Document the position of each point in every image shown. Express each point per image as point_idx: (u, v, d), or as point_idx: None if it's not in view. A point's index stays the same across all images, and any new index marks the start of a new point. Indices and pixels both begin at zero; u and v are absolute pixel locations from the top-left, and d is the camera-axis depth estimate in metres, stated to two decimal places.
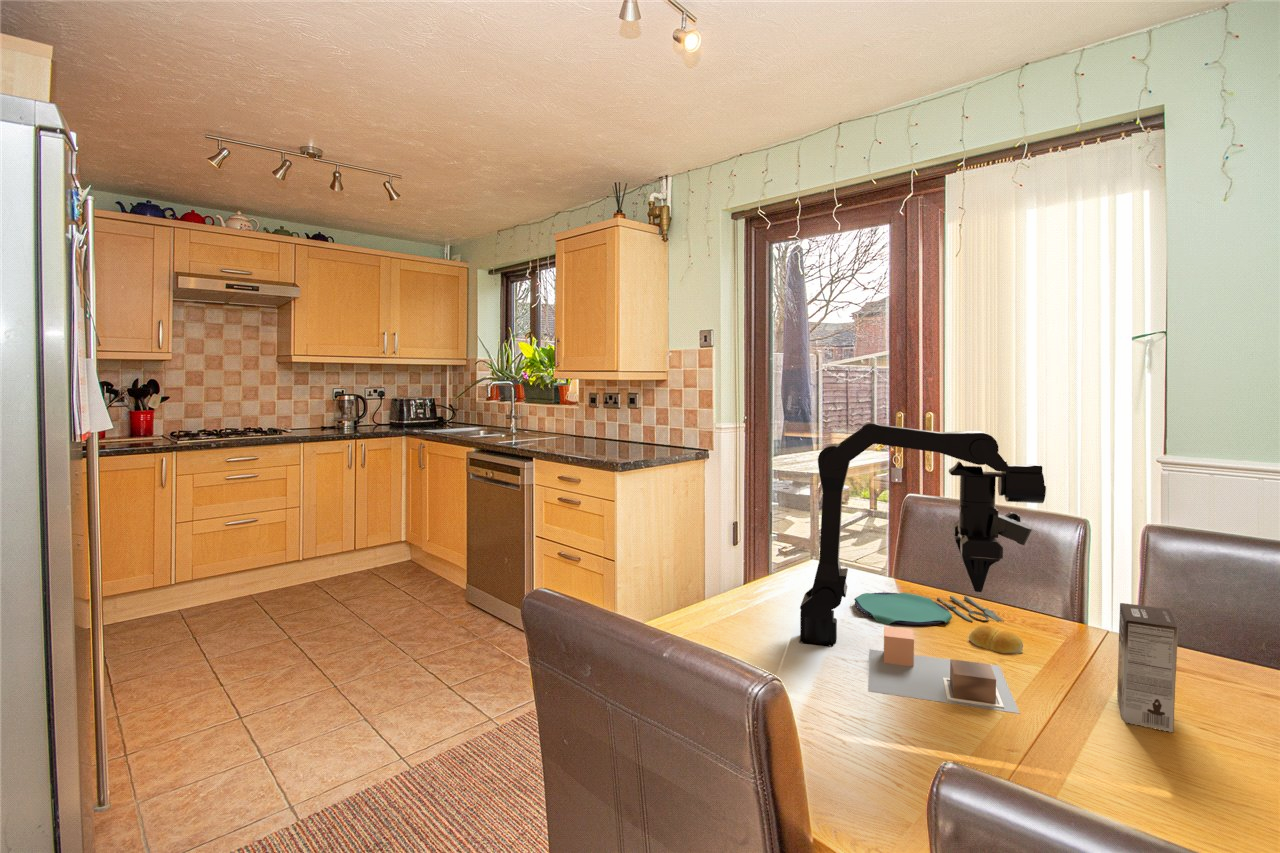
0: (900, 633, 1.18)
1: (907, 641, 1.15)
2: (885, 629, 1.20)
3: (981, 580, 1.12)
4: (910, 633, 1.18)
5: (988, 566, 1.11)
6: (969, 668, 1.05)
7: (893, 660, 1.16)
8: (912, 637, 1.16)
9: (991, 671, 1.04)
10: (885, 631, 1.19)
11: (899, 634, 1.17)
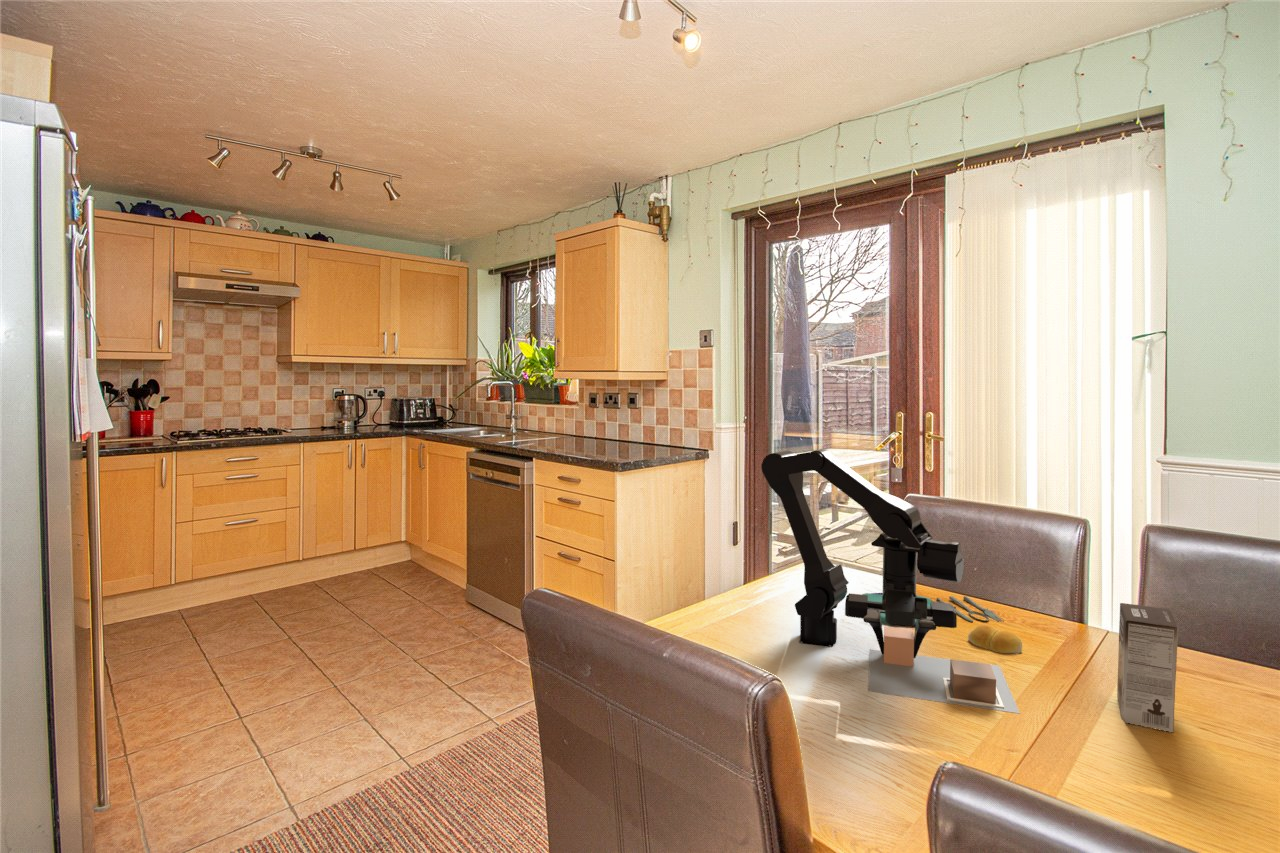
0: (900, 633, 1.18)
1: (907, 641, 1.15)
2: (885, 629, 1.20)
3: (878, 641, 1.19)
4: (910, 633, 1.18)
5: (872, 627, 1.18)
6: (969, 668, 1.05)
7: (893, 660, 1.16)
8: (912, 637, 1.16)
9: (991, 671, 1.04)
10: (885, 631, 1.19)
11: (899, 634, 1.17)
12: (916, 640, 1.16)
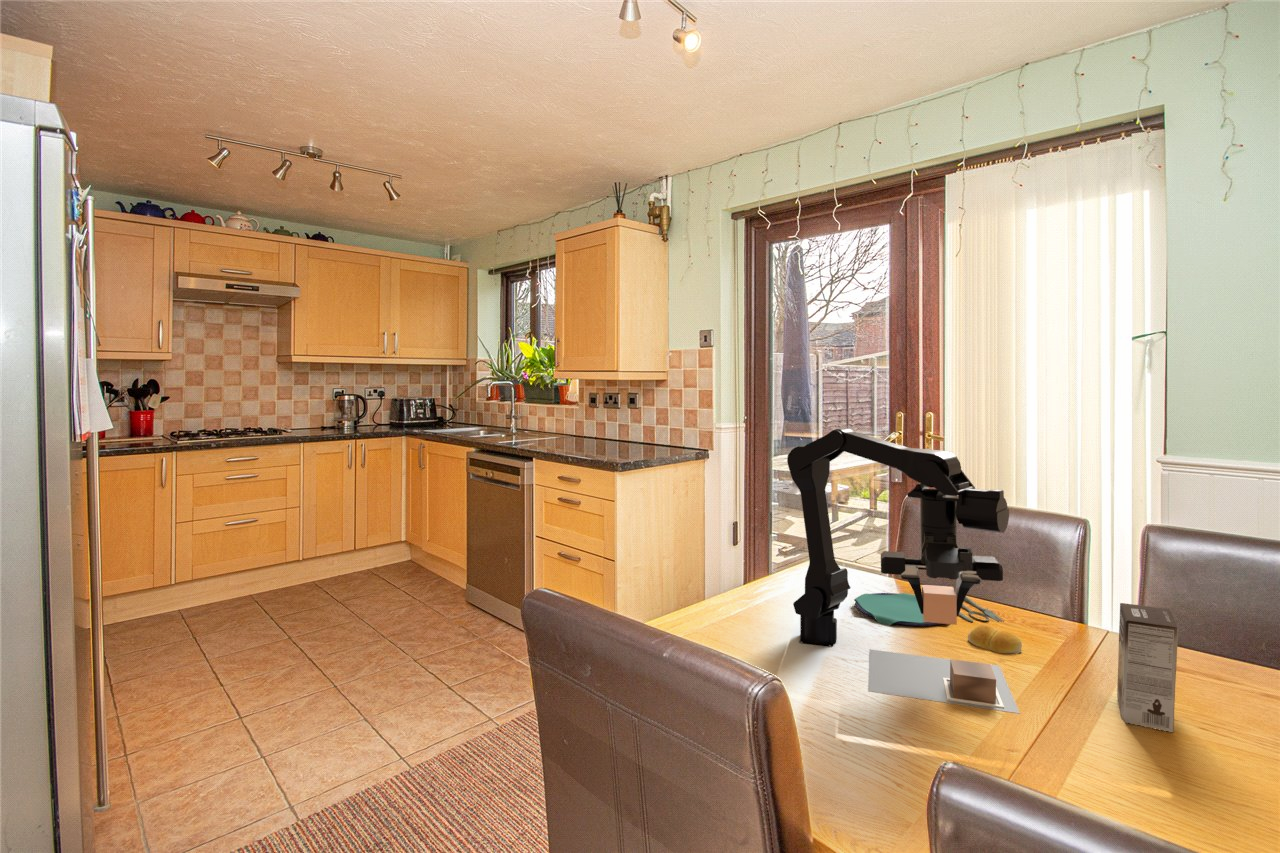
0: (940, 590, 1.10)
1: (949, 598, 1.08)
2: (923, 587, 1.12)
3: None
4: (951, 589, 1.10)
5: None
6: (969, 668, 1.05)
7: (934, 619, 1.09)
8: (954, 593, 1.08)
9: (991, 671, 1.04)
10: (924, 589, 1.11)
11: (939, 591, 1.09)
12: (958, 597, 1.08)
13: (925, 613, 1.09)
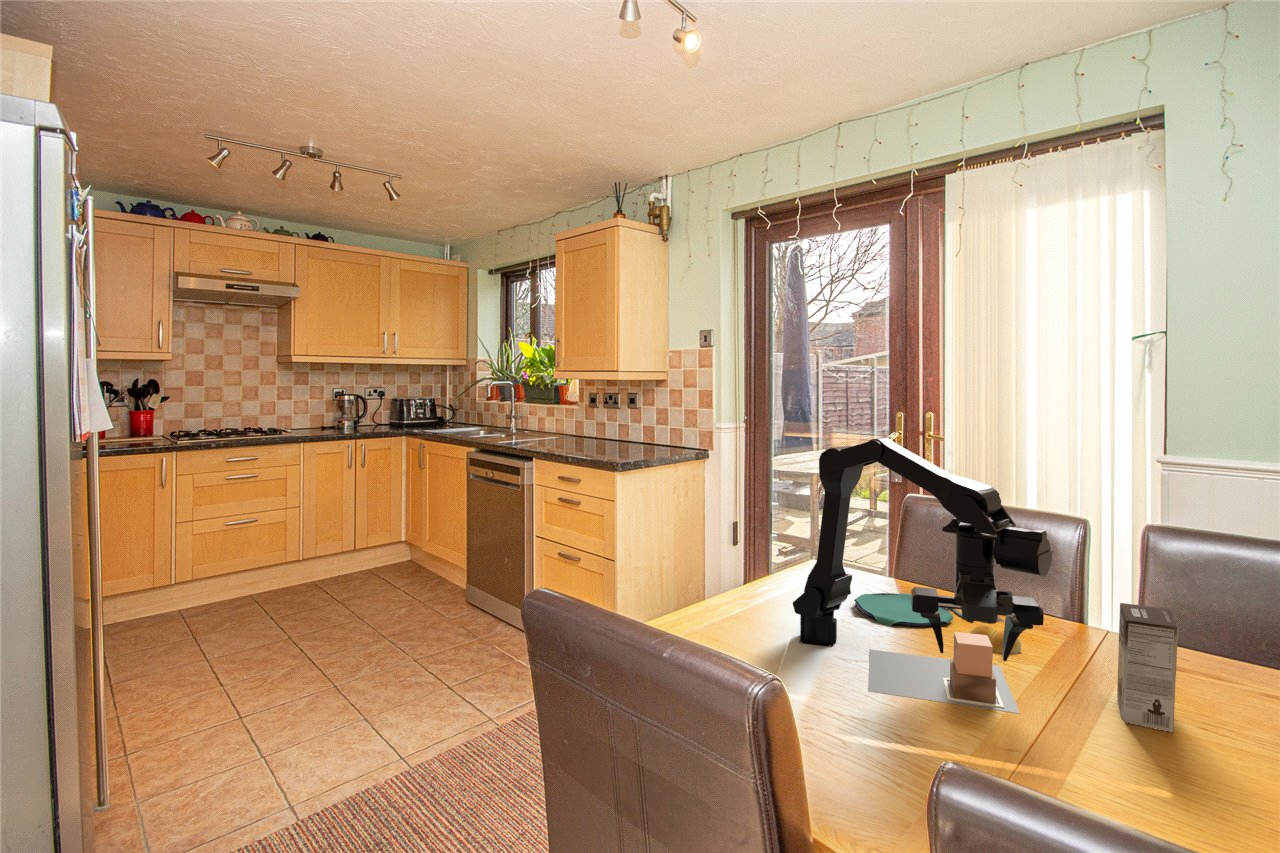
0: (974, 640, 1.04)
1: (984, 649, 1.02)
2: (956, 635, 1.06)
3: (936, 639, 1.06)
4: (985, 639, 1.05)
5: (930, 623, 1.06)
6: None
7: (968, 670, 1.03)
8: (990, 644, 1.02)
9: None
10: (957, 637, 1.05)
11: (974, 641, 1.04)
12: (1008, 641, 1.02)
13: (958, 664, 1.03)
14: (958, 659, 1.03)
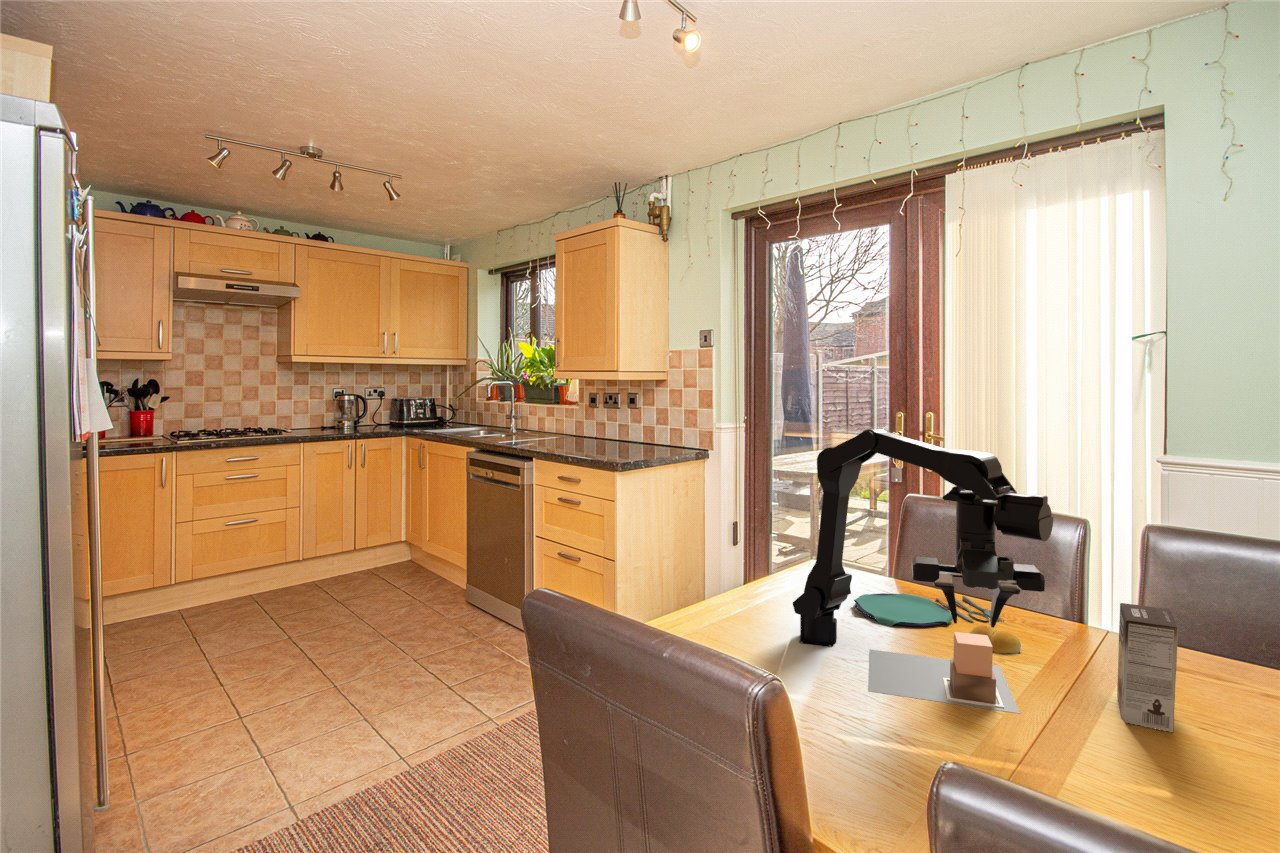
0: (974, 640, 1.04)
1: (984, 649, 1.02)
2: (956, 635, 1.06)
3: None
4: (985, 639, 1.05)
5: (944, 593, 1.05)
6: None
7: (968, 670, 1.03)
8: (990, 644, 1.02)
9: None
10: (957, 637, 1.05)
11: (974, 641, 1.04)
12: (996, 607, 1.02)
13: (958, 664, 1.03)
14: (958, 659, 1.03)
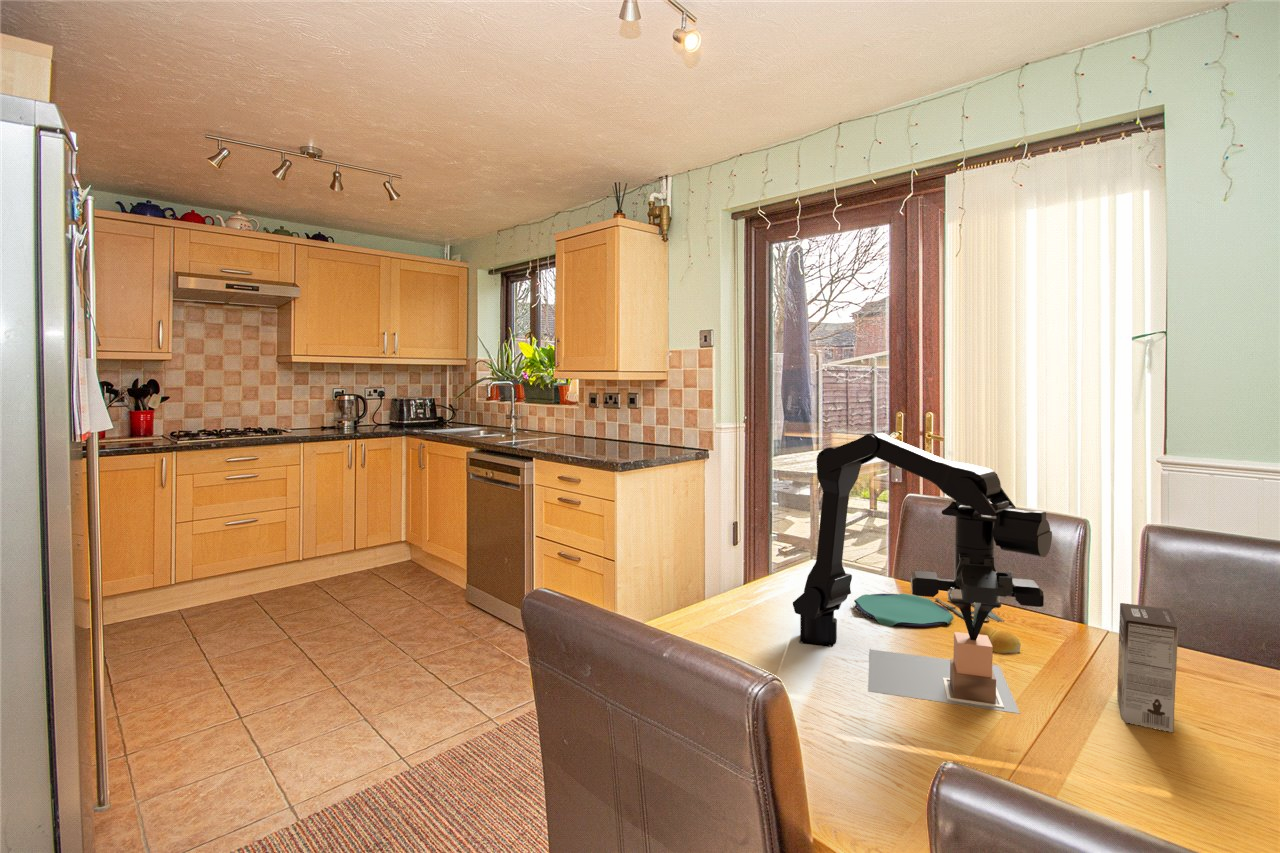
0: (974, 640, 1.04)
1: (984, 649, 1.02)
2: (956, 635, 1.06)
3: (966, 625, 1.05)
4: (985, 639, 1.05)
5: (960, 609, 1.04)
6: None
7: (968, 670, 1.03)
8: (990, 644, 1.02)
9: None
10: (957, 637, 1.05)
11: (974, 641, 1.04)
12: (977, 620, 1.03)
13: (958, 664, 1.03)
14: (958, 659, 1.03)
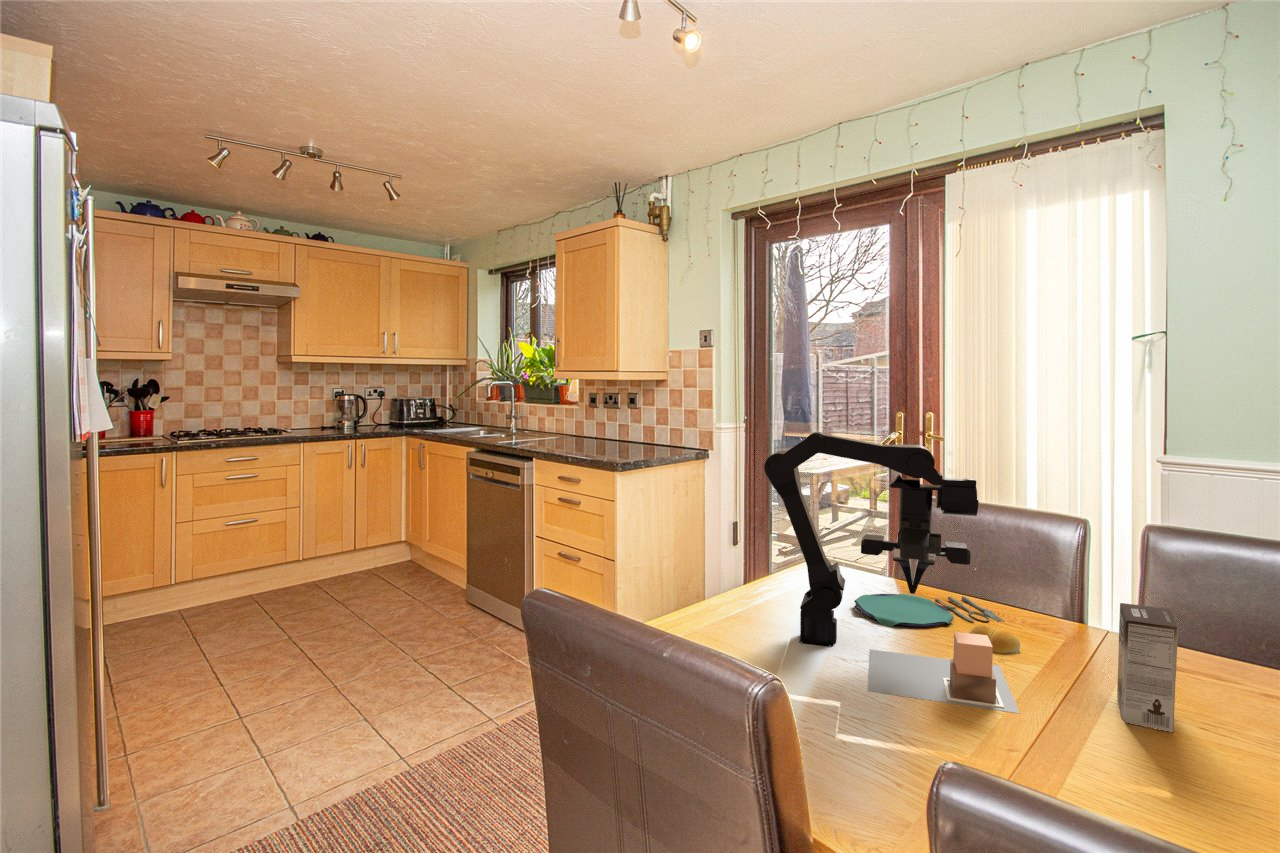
0: (974, 640, 1.04)
1: (984, 649, 1.02)
2: (956, 635, 1.06)
3: None
4: (985, 639, 1.05)
5: (901, 567, 1.21)
6: None
7: (968, 670, 1.03)
8: (990, 644, 1.02)
9: None
10: (957, 637, 1.05)
11: (974, 641, 1.04)
12: (916, 576, 1.20)
13: (958, 664, 1.03)
14: (958, 659, 1.03)
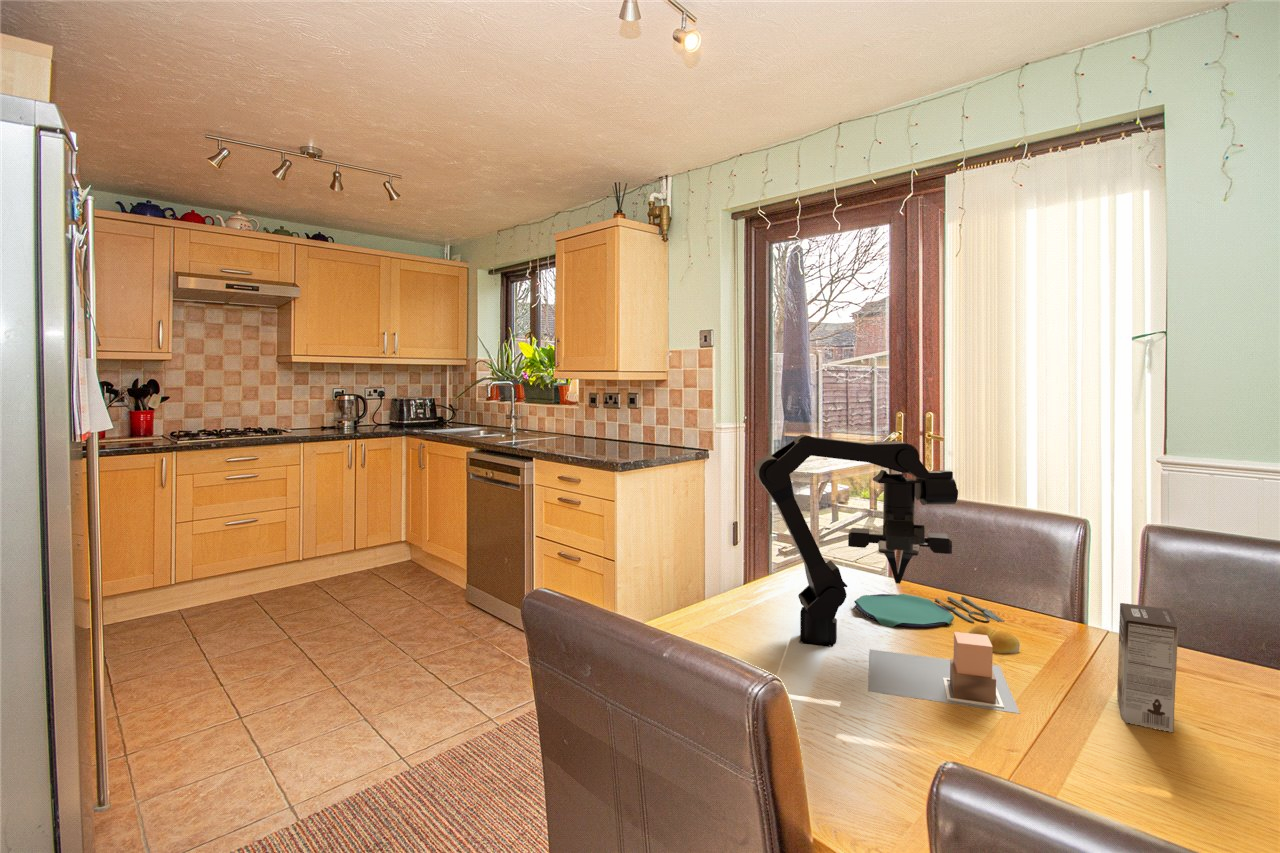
0: (974, 640, 1.04)
1: (984, 649, 1.02)
2: (956, 635, 1.06)
3: (892, 571, 1.27)
4: (985, 639, 1.05)
5: (887, 558, 1.26)
6: None
7: (968, 670, 1.03)
8: (990, 644, 1.02)
9: None
10: (957, 637, 1.05)
11: (974, 641, 1.04)
12: (901, 566, 1.26)
13: (958, 664, 1.03)
14: (958, 659, 1.03)
